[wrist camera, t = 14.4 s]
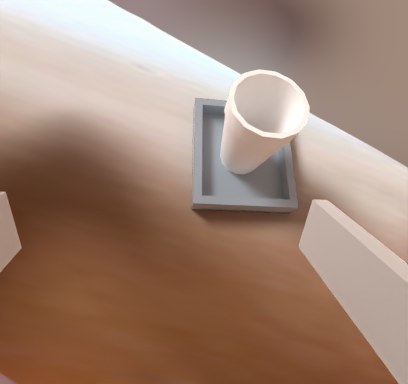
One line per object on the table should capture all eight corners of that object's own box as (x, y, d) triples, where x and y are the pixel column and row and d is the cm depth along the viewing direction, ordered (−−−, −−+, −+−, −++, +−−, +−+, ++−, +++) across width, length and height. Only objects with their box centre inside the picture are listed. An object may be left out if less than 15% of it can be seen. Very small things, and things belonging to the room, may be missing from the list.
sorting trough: (191, 209, 36) (193, 203, 33) (193, 109, 42) (195, 97, 40) (289, 213, 38) (298, 207, 35) (277, 117, 44) (285, 106, 41)
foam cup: (275, 149, 41) (319, 94, 29) (254, 194, 37) (293, 152, 25) (225, 123, 41) (248, 57, 29) (200, 165, 38) (214, 111, 26)
